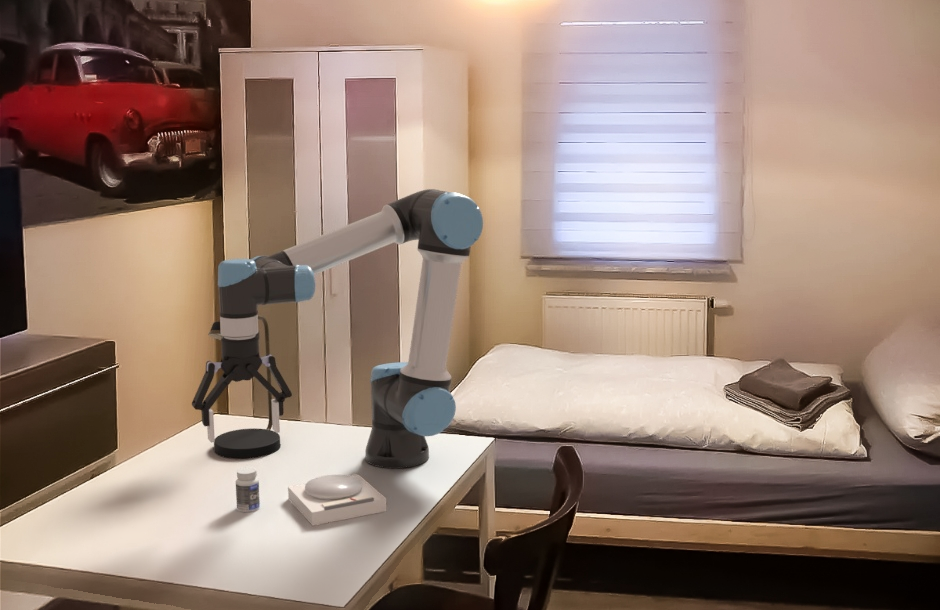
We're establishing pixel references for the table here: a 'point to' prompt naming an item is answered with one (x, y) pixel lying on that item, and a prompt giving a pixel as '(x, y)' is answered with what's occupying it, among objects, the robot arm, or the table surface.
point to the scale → (336, 498)
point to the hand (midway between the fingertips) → (244, 435)
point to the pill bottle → (247, 490)
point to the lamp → (248, 440)
